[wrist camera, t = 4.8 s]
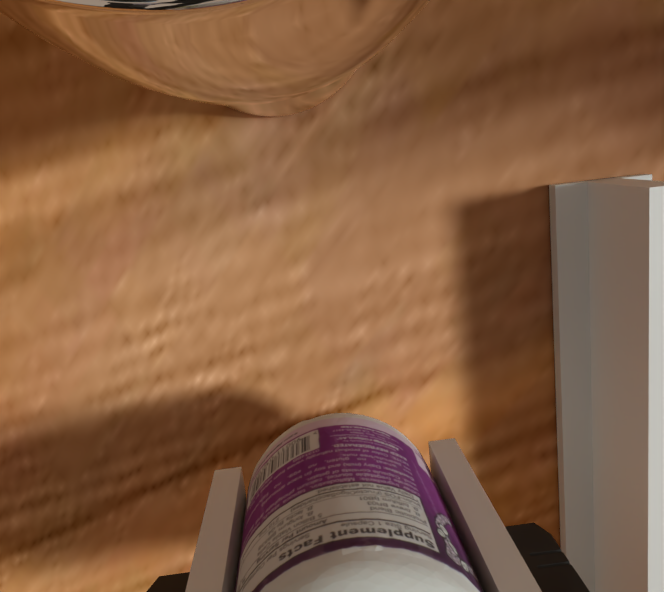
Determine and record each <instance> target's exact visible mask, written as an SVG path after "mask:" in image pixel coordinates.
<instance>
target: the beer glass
mask: <svg viewBox="0 0 664 592" xmlns="http://www.w3.org/2000/svg"><path fill="white" fill-rule="evenodd" d="M429 1H430V0H0V12H1V13H2V14H4V15H5V16H7V17H9V18H10V19H12V20H13V21H15V22H16V23H18V24H19V25H21V26H23V27H24V28H26V29H27V30H29V31H30V32H32V33H33V34H35V35H37V36H38V37H40V38H42V39H43V40H45V41H47V42H48V43H50V44H52V45H54V46H56V47H57V48H59V49H61V50H63V51H65V52H67V53H69V54H71V55H73V56H74V57H76V58H78V59H80V60H82V61H84V62H86V63H88V64H90V65H92V66H94V67H96V68H98V69H100V70H102V71H104V72H106V73H108V74H110V75H112V76H114V77H117V78H119V79H121V80H124V81H126V82H129V83H132V84H134V85H137V86H140V87H143V88H146V89H149V90H153V91H156V92H160V93H163V94H167V95H170V96H174V97H177V98H181V99H185V100H190V101H195V102H201V103H207V104H216V105H225V106H227V107H230V108H232V109H234V110H237V111H240V112H243V113H246V114H251V115H256V116H266V117H278V116H287V115H292V114H296V113H300V112H303V111H306V110H308V109H311V108H313V107H315V106H317V105H319V104H321V103H322V102H324V101H326V100H327V99H328V98H330V97H331V96H333V95H334V94H335V93H336V92H337V91H338V90H340V89H341V88H342V87H343V86H344V85H345V83H346V82H347V81H348V80H349V79H350V77H351V76H352V75H353V73H354V72H355V71H356V70H357V69H358V68H359V67H361V66H362V65H364V64H365V63H367V62H368V61H369V60H371V59H372V58H373V57H375V56H376V55H377V54H378V53H379V52H381V51H382V50H383V49H384V48H385V47H386V46H387V45H388V44H389V43H390V42H391V41H393V40H394V38H395V37H396V36H397V35H398V34H399V33H400V32H401V31H402V30H403V29H404V28H405V27H406V26H407V25H408V24H409V23H410V22H411V21H412V20H413V19H414V18H415V17H416V16H417V15H418V14H419V13H420V11H421V10H422V9H423V8H424V7H425V6H426V5H427V4H428V2H429Z"/></svg>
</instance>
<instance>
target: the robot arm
mask: <svg viewBox="0 0 664 592" xmlns="http://www.w3.org/2000/svg"><path fill="white" fill-rule="evenodd" d="M428 443H429V455H430V467H431V474H432V476H433V478H434V480H435V482H436V484H437V486H438V489H439V491H440V494H441V497H442V499H443V501H444V503H445V505H446V507H447V510H448V512H449V514H450V516H451V519H452V521H453V524H454V526H455V528H456V530H457V533H458V535H459V537H460V540H461V542H462V544H463V546H464V548H465V550H466V553H467V555H468V557H469V560H470V562H471V564H472V566H473V568H474V571H475V573H476V575H477V578H478V580H479V582H480V584H481V586H482V588H483V591H484V592H590V591H589V590H588V588H587V587H586V585H585V584H584V582H583V581H582V579H581V578H580V576H579V575H578V573H577V572H576V570H575V569H574V567H573V566H572V565H570V563H569V560H568V559H567V557H566V556H565V554H564V553H563V552H562V551H561V548H560V547H559V545H558V544H557V542H556V541H555V540H554V538H553V537H552V535H551V534H550V533H548V532H547V531H545V530H544V529H542V528H541V527H539V526H538V525H536V524H535V523H528V524H521V525H514V526H507V527H505V526H504V524H503V522H502V521H501V519H500V517H499V515H498V514H497V512H496V510H495V508H494V507H493V505H492V503H491V501H490V500H489V498H488V496H487V494H486V493H485V491H484V489H483V487H482V486H481V484H480V482H479V480H478V479H477V477H476V475H475V473H474V472H473V470H472V468H471V466H470V465H469V463H468V461H467V459H466V458H465V456H464V454H463V452H462V451H461V449H460V447H459V445H458V444H457V442H456V440H455V438H453V439H445V440H438V441H430V442H428ZM246 502H247V498H246V492H245V485H244V479H243V473H242V467H235V468H228V469H221V470H215V471H214V475H213V479H212V484H211V488H210V492H209V496H208V500H207V504H206V508H205V512H204V516H203V521H202V525H201V529H200V533H199V537H198V541H197V545H196V549H195V553H194V558H193V562H192V566H191V570H190V572H188V573H180V574H173V575H166V576H159V577H158V579H157V580H156V581H155V582H154V583H153V585H152V586H151V587H150V588H149V589H148V591H147V592H234V590H235V585H236V576H237V570H238V565H239V559H240V552H241V544H242V534H243V527H244V518H245V510H246Z"/></svg>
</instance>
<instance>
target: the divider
mask: <svg viewBox="0 0 664 592" xmlns="http://www.w3.org/2000/svg"><path fill="white" fill-rule="evenodd" d="M549 202H550V233H551V264H552V295H553V326H554V357H555V387H556V418H557V449H558V480H559V511H560V542H561V551H562V552H563V553H564V554H565V556H566V557H567V559H568V560H569V563H570V565H572V566H573V567H574V569H575V570H576V572H577V573H578V575H579V576H580V578H581V579H582V581H583V582H584V584H585V585H586V587H587V588H588V590H589V591H590V592H664V181H653V180H652V174H638V175H630V176H621V177H613V178H604V179H596V180H587V181H579V182H570V183H561V184H553V185H549Z"/></svg>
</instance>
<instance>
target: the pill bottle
mask: <svg viewBox="0 0 664 592" xmlns="http://www.w3.org/2000/svg"><path fill="white" fill-rule="evenodd" d="M234 592H484V591H483V588H482V586H481V584H480V582H479V580H478V578H477V575H476V573H475V571H474V568H473V566H472V564H471V562H470V560H469V557H468V555H467V553H466V550H465V548H464V546H463V544H462V542H461V540H460V537H459V535H458V533H457V530H456V528H455V526H454V524H453V521H452V519H451V516H450V514H449V512H448V510H447V507H446V505H445V503H444V501H443V499H442V497H441V494H440V491H439V489H438V486H437V484H436V482H435V480H434V478H433V476H432V474H431V472H430V470H429V468H428V466H427V464H426V462H425V461H424V459H423V457H422V455H421V454H420V452H419V451H418V449H417V448H416V447H415V446H414V445H413V444H412V443H411V442H410V441H409V439H408V438H407V437H406V436H404V435H403V434H402V433H400V432H399V431H398V430H397V429H395V428H394V427H392V426H390V425H388V424H387V423H384V422H382V421H380V420H377V419H374V418H371V417H368V416H365V415H358V414H351V413H334V414H327V415H322V416H319V417H316V418H313V419H311V420H305V421H302V422H299V423H298V424H296V425H294V426H292V427H291V428H289V429H288V430H287V431H285V432H284V433H283V434H281V435H280V436H279V437H278V438H277V439H276V440H274V441H273V442H272V443H271V444H270V445H269V447H268V448H267V450H266V451H265V453H264V454H263V455H262V457H261V458H260V460H259V461H258V463H257V465H256V467H255V469H254V472H253V474H252V477H251V480H250V483H249V487H248V494H247V502H246V510H245V518H244V527H243V534H242V544H241V552H240V559H239V565H238V570H237V576H236V585H235V590H234Z"/></svg>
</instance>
